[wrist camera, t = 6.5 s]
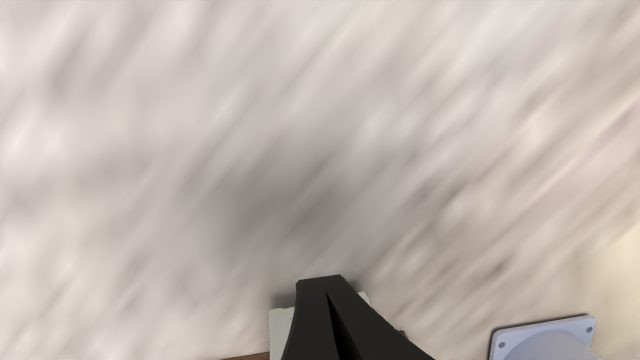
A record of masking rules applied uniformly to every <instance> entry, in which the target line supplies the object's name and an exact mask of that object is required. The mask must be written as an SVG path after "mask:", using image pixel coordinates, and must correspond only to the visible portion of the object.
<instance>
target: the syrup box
mask: <svg viewBox="0 0 640 360" xmlns="http://www.w3.org/2000/svg"><path fill="white" fill-rule="evenodd" d="M358 294H359V295H360V296H361V297H362V298H363V299H364V300H365V301H366V302H367V303H368V304H369V305H370V306H371V307H372V305H371V302H370V300H369V298H368V296H367V293H366V292H358ZM372 308H373V307H372ZM294 309H295V307H290V308H286V309H282V308H276V309H272V310H270V311H269V343H270V360H281V357H282V354H283V351H284V348H285V345H286V342H287V338H288V335H289V331H290V327H291V323H292V319H293V314H294Z"/></svg>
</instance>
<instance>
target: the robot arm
mask: <svg viewBox="0 0 640 360" xmlns="http://www.w3.org/2000/svg"><path fill="white" fill-rule="evenodd" d="M596 322H597V321H596V319H595V318H594V317H592V316H591V315H585V316H579V317H573V318H567V319H561V320H555V321H549V322H544V323H538V324H532V325H526V326H520V327H514V328H508V329H502V330H498V331H496V332H495V333H494V335H493V338H492V345H491V351H490V358H489V360H604V359H603V358H601V357H600V356H599V355H598V354H597V353H595V352H594V351H593V350H592V349H591V348H590V345H591V341H592V338H593V334H594V330H595V327H596ZM281 360H435V359H433V358H432V357H431V356H429V355H428V354H426V353H425V352H424V351H422V350H421V349H420V348H418V347H417V346H416V345H414V344H413V343H412V342H411V341H409V340H408V339H407V338H406V337H405V336H403V335H402V334H401V333H400V332H398V331H397V330H396V329H395V328H394V327H393V326H391V325H390V324H389V323H388V322H387V321H386V320H385V319H384V318H383V317H382V316H380V315H379V314H378V313H377V312H376V311H375V310H374V309H373V308H372V307H371V306H370V305H369V304H368V303H367V302H366V301H365V300H364V299H363V298H362V297H361V296H360V295H359V294H358V293H357V292H356V291H355V290H354V289H353V288H352V287H351V285H350V284H349V283H348V282H347V281H346V280H345V279H344V278H343V277H342V276H341V275H333V276H325V277H318V278H311V279H304V280H299V281H298V282H297V283H296V303H295V309H294V314H293V319H292V323H291V327H290V331H289V335H288V338H287V342H286V345H285V348H284V351H283V354H282V357H281Z"/></svg>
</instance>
